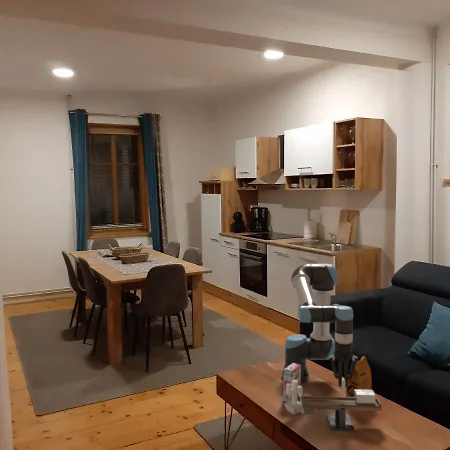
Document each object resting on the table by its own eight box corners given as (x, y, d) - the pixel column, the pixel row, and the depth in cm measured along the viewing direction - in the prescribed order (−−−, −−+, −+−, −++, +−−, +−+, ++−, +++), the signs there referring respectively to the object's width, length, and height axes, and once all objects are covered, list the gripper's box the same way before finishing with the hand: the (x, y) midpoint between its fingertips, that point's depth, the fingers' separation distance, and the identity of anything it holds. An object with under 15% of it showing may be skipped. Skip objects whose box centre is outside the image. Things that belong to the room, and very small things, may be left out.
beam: (300, 406, 216) (301, 393, 216) (376, 409, 214) (376, 395, 213) (302, 415, 207) (303, 402, 207) (381, 418, 205) (381, 404, 205)
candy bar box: (291, 404, 230) (292, 371, 229) (282, 401, 233) (282, 369, 232) (301, 395, 239) (301, 364, 238) (292, 393, 242) (292, 362, 241)
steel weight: (354, 400, 213) (354, 389, 212) (372, 400, 212) (372, 389, 212) (356, 405, 207) (357, 394, 207) (375, 406, 207) (375, 395, 206)
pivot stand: (326, 415, 218) (326, 396, 218) (348, 416, 218) (348, 397, 217) (331, 430, 204) (331, 410, 204) (354, 431, 204) (355, 411, 203)
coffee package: (342, 403, 231) (342, 359, 229) (356, 396, 239) (357, 353, 237) (359, 410, 223) (360, 365, 222) (374, 402, 231) (375, 358, 230)
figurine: (307, 411, 222) (307, 380, 221) (292, 417, 216) (292, 385, 215) (296, 406, 228) (296, 375, 227) (281, 411, 222) (281, 380, 221)
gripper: (330, 344, 205) (329, 396, 207) (360, 344, 204) (359, 397, 206) (327, 338, 212) (326, 389, 214) (356, 339, 212) (355, 390, 213)
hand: (342, 393), depth 210 cm, fingers closed
